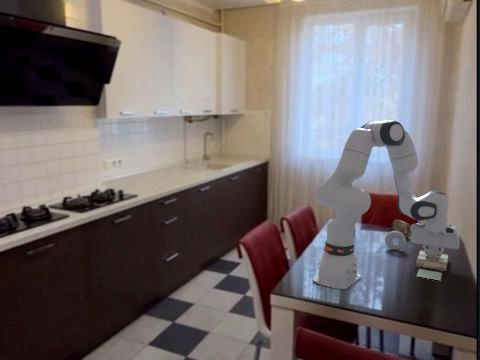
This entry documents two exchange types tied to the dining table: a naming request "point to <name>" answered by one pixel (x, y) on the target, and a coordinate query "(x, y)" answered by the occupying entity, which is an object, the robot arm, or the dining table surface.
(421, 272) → the green pad
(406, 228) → the tin
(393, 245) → the donut
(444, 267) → the frame
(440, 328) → the dining table surface
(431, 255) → the aluminium block
